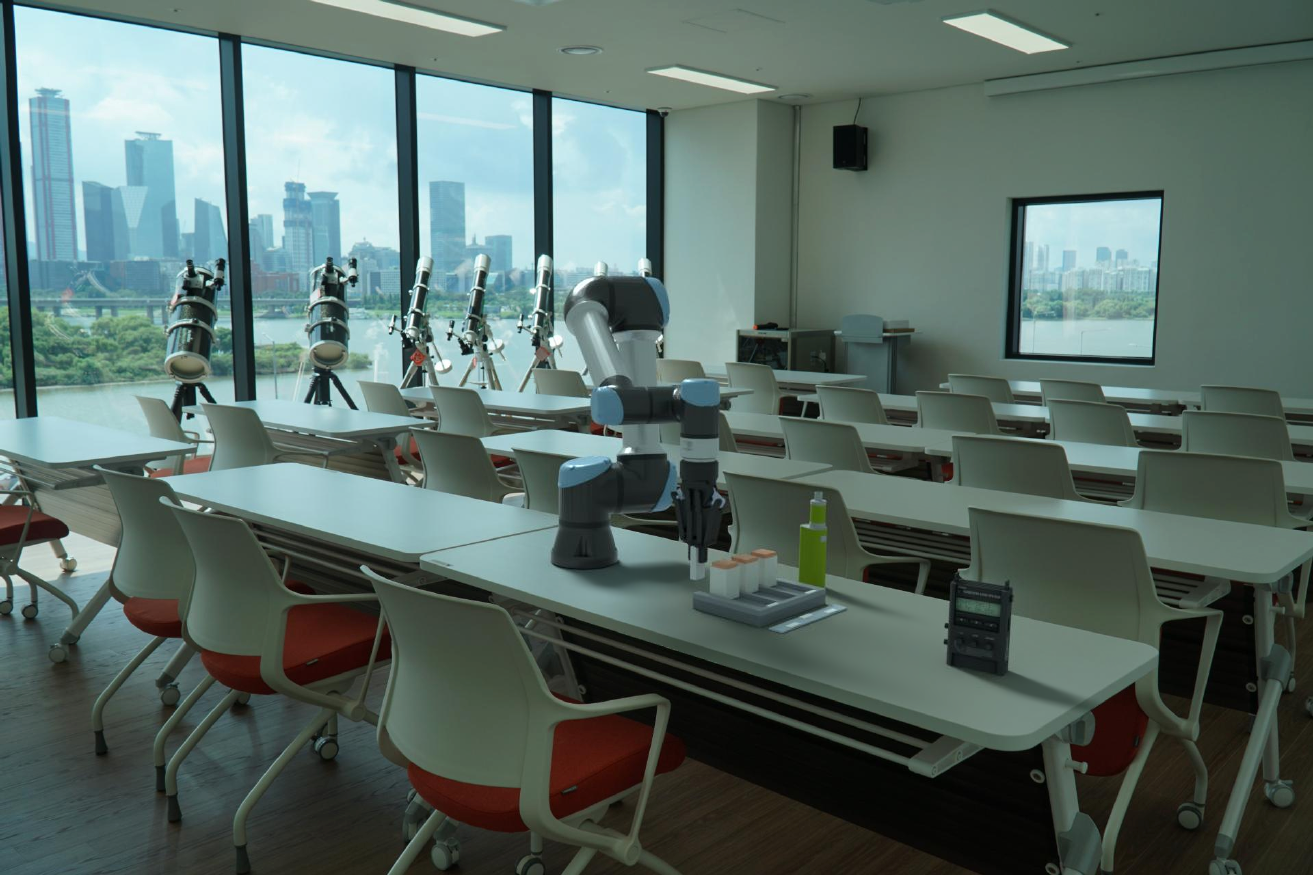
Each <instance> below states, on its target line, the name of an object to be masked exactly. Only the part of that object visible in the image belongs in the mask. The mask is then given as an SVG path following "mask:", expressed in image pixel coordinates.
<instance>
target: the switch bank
mask: <svg viewBox="0 0 1313 875" xmlns="http://www.w3.org/2000/svg"><path fill="white" fill-rule="evenodd" d="M826 591H827V589H826V587H825V588H821V587H817V586H813V585H808V584H804V583H800V582H798V581H796V580H795V581H794V580H791V579H787V578H782V577H778V576H777V585H775V586H772V587H768V586H764V585H760V584H758V591H756V592H753V593H749V592H745V591H741V590H739V597H737V598H734V599H728V598H724V597H721V596H717V595H713V594H710V592H709V593H708V592H705V591H701V590H699V591H695V592H693V593H692V594H693V596H692V609H693V610H694V609H695V610H697V611H700V612H704V613H708V614H711V615H716V616H719V617H722V618H727V619H729V620H733V621H737V622H740V623H744V624H746V625H751V626H754V627H757V628H761V627H764V626H767V625H769V624H773V623H775V622H778V621H781V620H784V619H786V618H789V617H792V616H795V615H797V614H800V613H802V612H805V611H808V610H811V609H814V608H817V607H819V606H822V605H825V604H826V597H827V596H826V593H827V592H826Z"/></svg>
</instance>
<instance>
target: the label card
mask: <svg viewBox="0 0 1313 875" xmlns="http://www.w3.org/2000/svg"><path fill="white" fill-rule="evenodd" d="M845 610H848V607H846V606H843V605H838V604H834V603H833V604H831V605H829V606H826V607H825V606H824V607H822V608H820V609H818V610H815V611H812V612H808V613H806V614H803V615H800V616H798V617H795V618H792V619H789V620H787V621H784V622H782V623H779V624H776V625H773V626H770V627H768V631H771V632H776V633H779V634H786V633H788V632H790V631H793V630H796V629H798V628H801V627H804V626H805V625H809V624H811V623H814V622H817V621H819V620H822V619H824V618H828V617H830V616H833V615H835V614H838V613H840V612H843V611H845Z"/></svg>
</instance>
